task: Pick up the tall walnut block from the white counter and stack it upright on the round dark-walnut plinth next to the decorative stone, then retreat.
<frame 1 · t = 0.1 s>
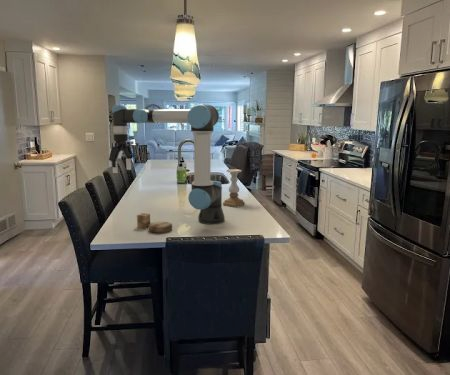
hand: (122, 171, 210), 28 cm above the kitchen island, fingers open, 13 cm apart
candle holder: (233, 205, 251), on the kitchen island
plinth: (160, 229, 194), on the kitchen island
walnut block: (144, 227, 200), on the kitchen island
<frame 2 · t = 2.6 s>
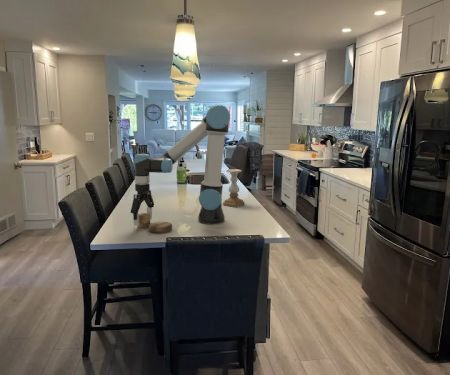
hand: (143, 222, 199), 3 cm above the kitchen island, fingers open, 13 cm apart
nothing on the kitchen island moved.
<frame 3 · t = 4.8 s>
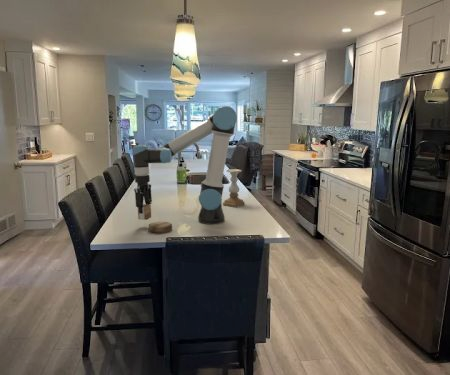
hand: (145, 217, 199), 5 cm above the kitchen island, fingers closed on walnut block, 5 cm apart
walnut block: (144, 218, 199), point 5 cm above the kitchen island, touching gripper
everything else where it was.
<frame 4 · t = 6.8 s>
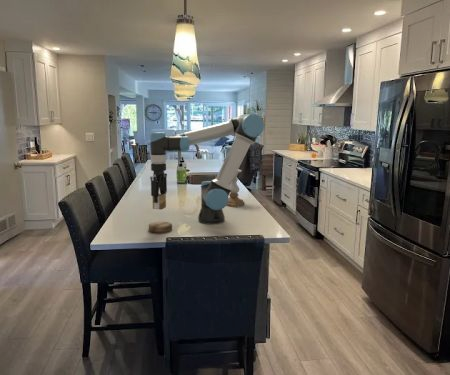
hand: (159, 207, 192), 12 cm above the kitchen island, fingers closed on walnut block, 5 cm apart
walnut block: (159, 207, 192), point 12 cm above the kitchen island, touching gripper
everything else where it was.
when the fingers open (3 cm above the kitchen island, at t = 8.9 s): walnut block stays where it is, resting on plinth.
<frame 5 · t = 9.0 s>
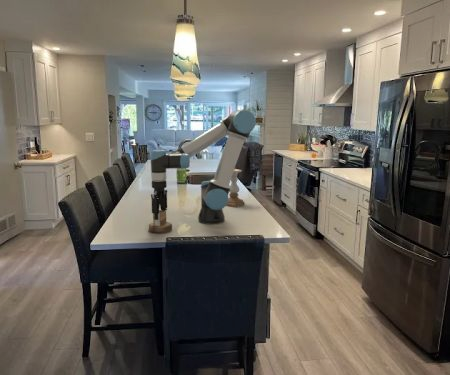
hand: (160, 223, 194), 3 cm above the kitchen island, fingers open, 5 cm apart
walnut block: (160, 224, 194), point 3 cm above the kitchen island, touching plinth
everything else where it was.
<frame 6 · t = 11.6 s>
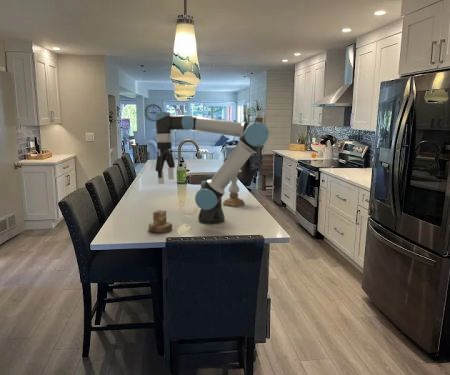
hand: (166, 181, 198), 24 cm above the kitchen island, fingers open, 13 cm apart
nothing on the kitchen island moved.
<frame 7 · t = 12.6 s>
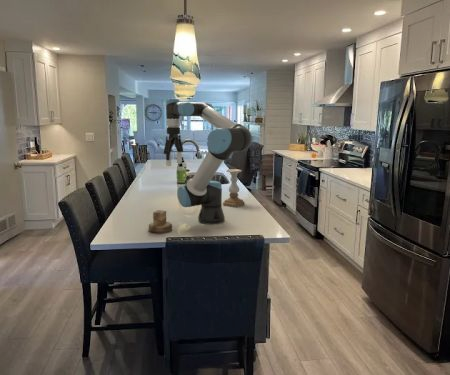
hand: (174, 164, 212), 32 cm above the kitchen island, fingers open, 13 cm apart
nothing on the kitchen island moved.
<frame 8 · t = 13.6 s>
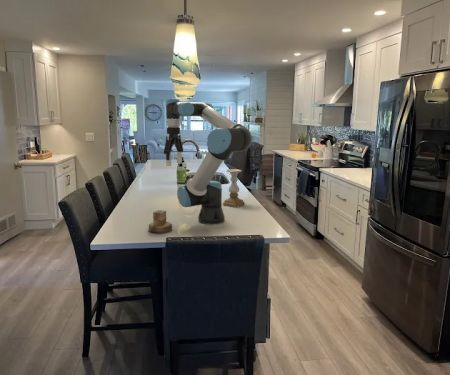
hand: (174, 164, 212), 32 cm above the kitchen island, fingers open, 13 cm apart
nothing on the kitchen island moved.
at the end: walnut block 0.2 cm from the plinth (horizontally); walnut block point 3.0 cm above the kitchen island; walnut block tilted 0° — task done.
